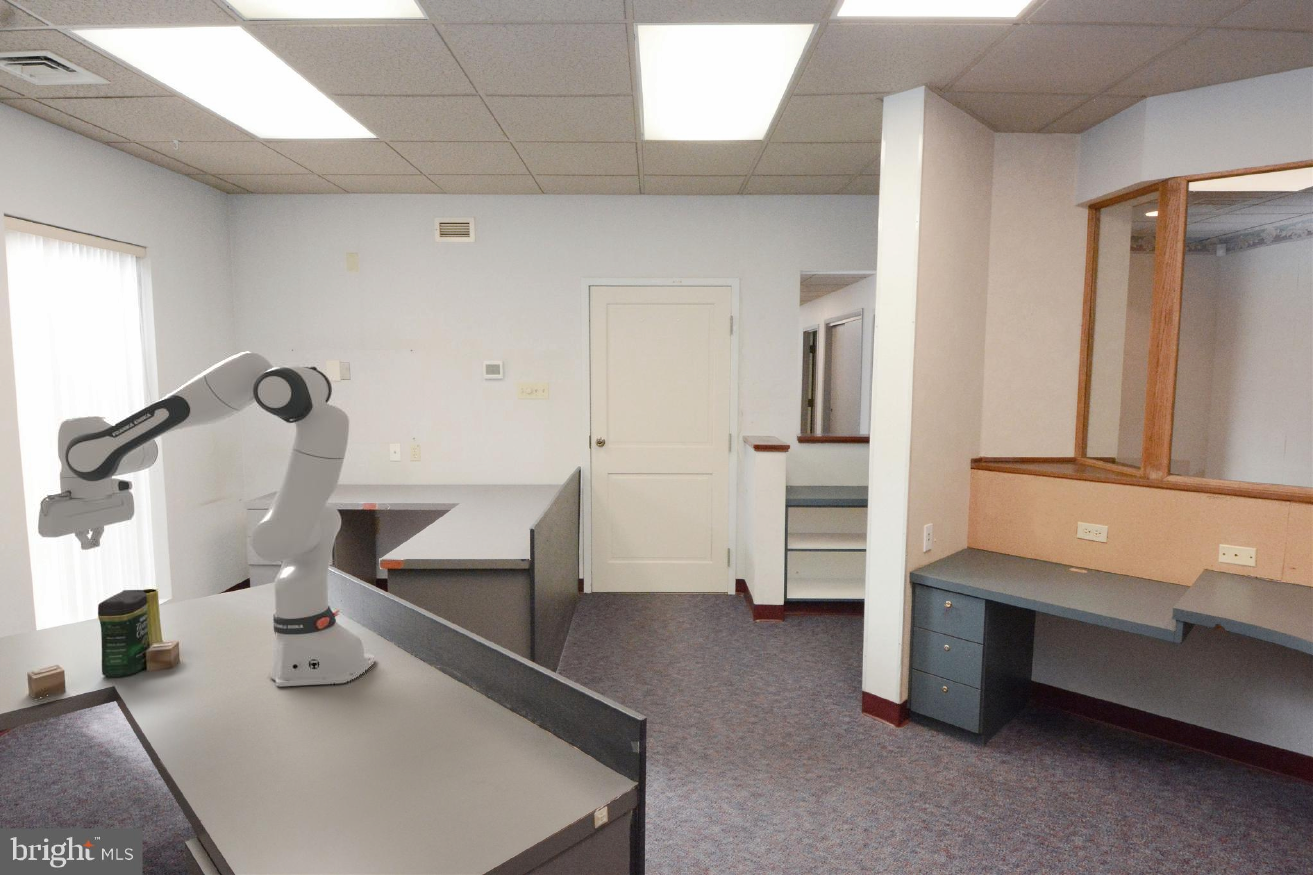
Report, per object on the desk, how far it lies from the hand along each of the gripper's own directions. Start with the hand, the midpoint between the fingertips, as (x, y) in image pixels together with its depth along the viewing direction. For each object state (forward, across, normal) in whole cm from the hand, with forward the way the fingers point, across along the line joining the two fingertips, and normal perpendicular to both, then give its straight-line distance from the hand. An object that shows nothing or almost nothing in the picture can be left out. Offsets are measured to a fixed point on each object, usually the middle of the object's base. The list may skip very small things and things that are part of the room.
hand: (90, 548), depth 148 cm
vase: (+31, +19, +5) cm, 37 cm away
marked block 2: (+31, +8, -9) cm, 33 cm away
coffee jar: (+31, +5, -3) cm, 31 cm away
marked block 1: (+31, -7, +5) cm, 32 cm away
